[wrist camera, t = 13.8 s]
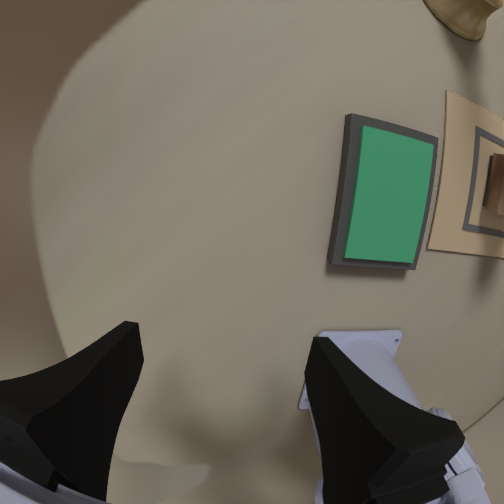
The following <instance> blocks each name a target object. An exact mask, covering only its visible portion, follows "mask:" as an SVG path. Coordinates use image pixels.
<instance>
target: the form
mask: <svg viewBox="0 0 504 504" xmlns="http://www.w3.org/2000/svg"><path fill="white" fill-rule="evenodd" d="M493 153H497V154H504V120H502V119H501V118H499V117H498V116H496V115H494V114H493V113H491V112H489V111H487V110H486V109H484V108H482V107H480V106H478V105H477V104H475V103H473V102H471V101H469V100H467V99H465V98H463V97H461V96H459V95H457V94H455V93H453V92H451V91H449V90H446V105H445V130H444V144H443V155H442V165H441V173H440V180H439V187H438V193H437V200H436V205H435V211H434V216H433V221H432V226H431V230H430V235H429V239H428V244H427V249H435V250H444V251H452V252H461V253H469V254H477V255H485V256H493V257H500V258H504V216H502V215H499V214H497V213H494V212H492V211H489V210H486V209H485V207H484V206H482V204H483V199H484V194H485V188H486V182H487V175H488V168H489V160H490V155H492V156H493Z"/></svg>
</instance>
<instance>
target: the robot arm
mask: <svg viewBox="0 0 504 504" xmlns="http://www.w3.org/2000/svg"><path fill="white" fill-rule="evenodd" d="M402 336H403V333H402V332H401V331H400V330H378V331H322V332H320V333H319V334H318V337H313V341H312V345H311V349H310V353H309V357H308V361H307V365H306V369H305V372H304V374H305V385H304V388H303V391H302V395H301V398H300V401H299V408H300V409H309V412H310V416H311V421H312V426H313V431H314V435H315V440H316V445H317V450H318V454H319V456H320V458H321V460H322V469H323V475H322V476H320V477H319V479H318V480H317V482H316V485H315V490H314V498H313V502H314V504H491V503H490V501H489V499H488V496H487V494H486V492H485V490H484V486H485V480H484V478H483V474H482V472H481V470H480V468H479V466H478V463H477V461H476V458H475V456H474V454H473V452H472V450H471V448H470V447H469V445H468V443H467V441H466V440H465V436H464V435H463V433H462V431H461V430H460V428H459V426H458V425H457V423H456V421H453V420H452V418H451V417H450V416H449V414H448V413H447V412H446V411H445V410H444V409H436V408H435V407H433V408H431V409H430V410H428V411H427V412H426V411H424V409H423V407H422V405H421V404H420V402H419V400H418V398H417V397H416V395H415V393H414V391H413V390H412V388H411V386H410V385H409V383H408V381H407V379H406V378H405V376H404V374H403V373H402V371H401V369H400V368H399V366H398V365H397V363H396V361H395V360H394V356H395V353H396V351H397V348H398V346H399V344H400V341H401V339H402ZM143 362H144V357H143V351H142V345H141V338H140V332H139V324H138V323H136V322H129V321H124V322H123V323H121V324H120V325H118V326H117V327H115V328H114V329H112V330H111V331H110V332H108V333H107V334H105V335H104V336H102V337H101V338H100V339H98V340H97V341H95V342H94V343H92V344H91V345H89V346H88V347H86V348H84V349H83V350H81V351H80V352H78V353H76V354H75V355H73V356H71V357H69V358H68V359H66V360H64V361H62V362H60V363H58V364H56V365H53V366H51V367H48V368H46V369H43V370H41V371H38V372H35V373H32V374H29V375H26V376H22V377H18V378H13V379H8V380H2V381H0V504H110V503H107V502H106V495H107V485H108V476H109V470H110V464H111V458H112V454H113V449H114V445H115V441H116V437H117V433H118V429H119V426H120V423H121V420H122V417H123V415H124V413H125V410H126V408H127V405H128V403H129V401H130V398H131V396H132V394H133V391H134V389H135V387H136V384H137V382H138V380H139V376H140V373H141V369H142V366H143ZM306 398H307V399H306Z"/></svg>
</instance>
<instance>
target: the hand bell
mask: <svg viewBox="0 0 504 504" xmlns="http://www.w3.org/2000/svg"><path fill="white" fill-rule="evenodd" d="M424 2H425V3H426V4H427V6H428V7H429V9H430V10H431V11H432V12H433V13H434V15H435V16H436V17H437V18H438V19H439V20H440V21H441V22H442V23H444V24H445V25H446V26H447V27H448V28H449V29H450V30H452V31H453V32H455V33H456V34H458V35H460V36H461V37H463V38H466V39H469V40H478V39H480V38H482V36H483V35H484V33H485V30H486V20H487V18H488V17H489V16H490V15H491V14H492V13H493V12H494V11H496V10H497V9H499V8H501V7H502V5H503V0H424Z"/></svg>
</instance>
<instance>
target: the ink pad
mask: <svg viewBox="0 0 504 504" xmlns="http://www.w3.org/2000/svg"><path fill="white" fill-rule="evenodd" d="M437 149H438V138H437V137H434V136H431V135H428V134H425V133H422V132H419V131H416V130H413V129H410V128H407V127H403V126H400V125H396V124H393V123H389V122H385V121H382V120H378V119H374V118H370V117H366V116H361V115H357V114H352V113H351V114H348V115H345V127H344V138H343V148H342V157H341V166H340V175H339V183H338V190H337V198H336V205H335V212H334V218H333V225H332V231H331V237H330V243H329V249H328V254H327V259H328V261H329V262H330V263H331V265H345V266H359V267H374V268H389V269H405V270H415V269H416V265H417V261H418V257H419V253H420V249H421V245H422V241H423V237H424V232H425V228H426V223H427V218H428V213H429V207H430V202H431V196H432V189H433V183H434V175H435V167H436V159H437Z"/></svg>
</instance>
